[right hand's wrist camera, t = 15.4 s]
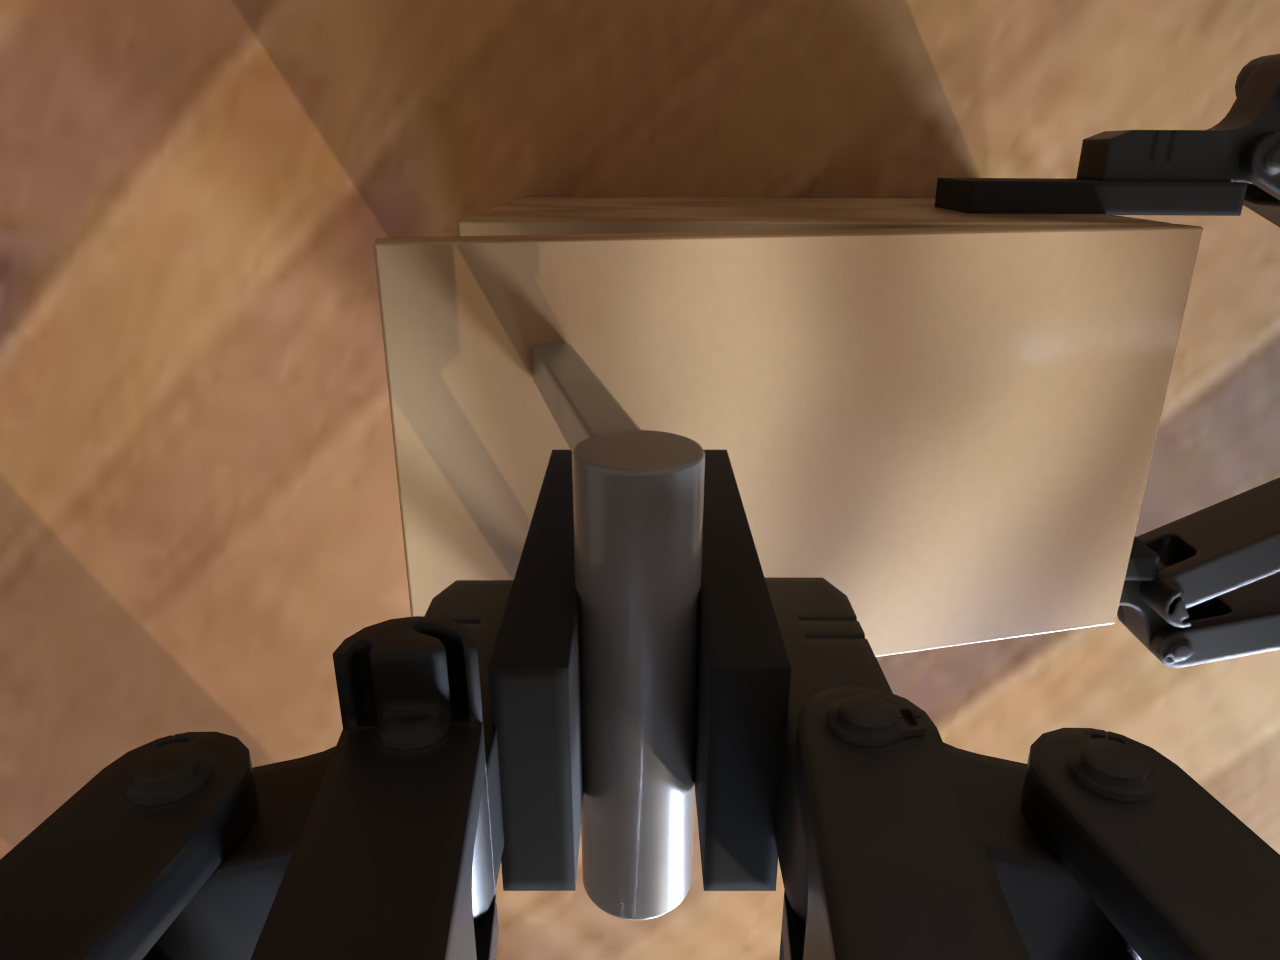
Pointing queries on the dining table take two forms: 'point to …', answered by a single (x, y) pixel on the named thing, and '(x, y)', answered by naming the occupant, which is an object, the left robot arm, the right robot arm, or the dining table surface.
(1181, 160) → the left robot arm
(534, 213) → the chest
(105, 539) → the dining table surface
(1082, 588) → the lid
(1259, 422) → the dining table surface
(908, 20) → the dining table surface
